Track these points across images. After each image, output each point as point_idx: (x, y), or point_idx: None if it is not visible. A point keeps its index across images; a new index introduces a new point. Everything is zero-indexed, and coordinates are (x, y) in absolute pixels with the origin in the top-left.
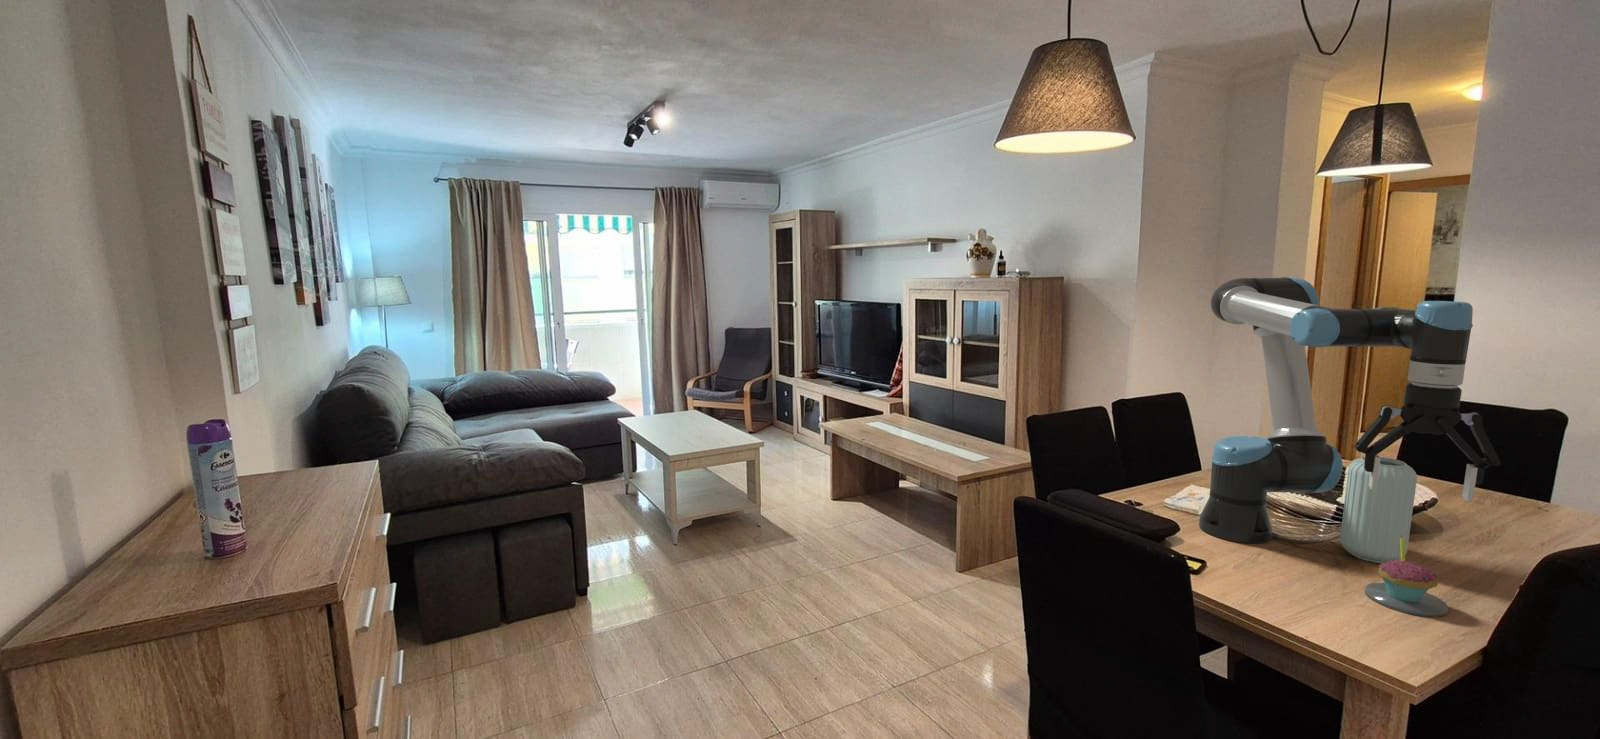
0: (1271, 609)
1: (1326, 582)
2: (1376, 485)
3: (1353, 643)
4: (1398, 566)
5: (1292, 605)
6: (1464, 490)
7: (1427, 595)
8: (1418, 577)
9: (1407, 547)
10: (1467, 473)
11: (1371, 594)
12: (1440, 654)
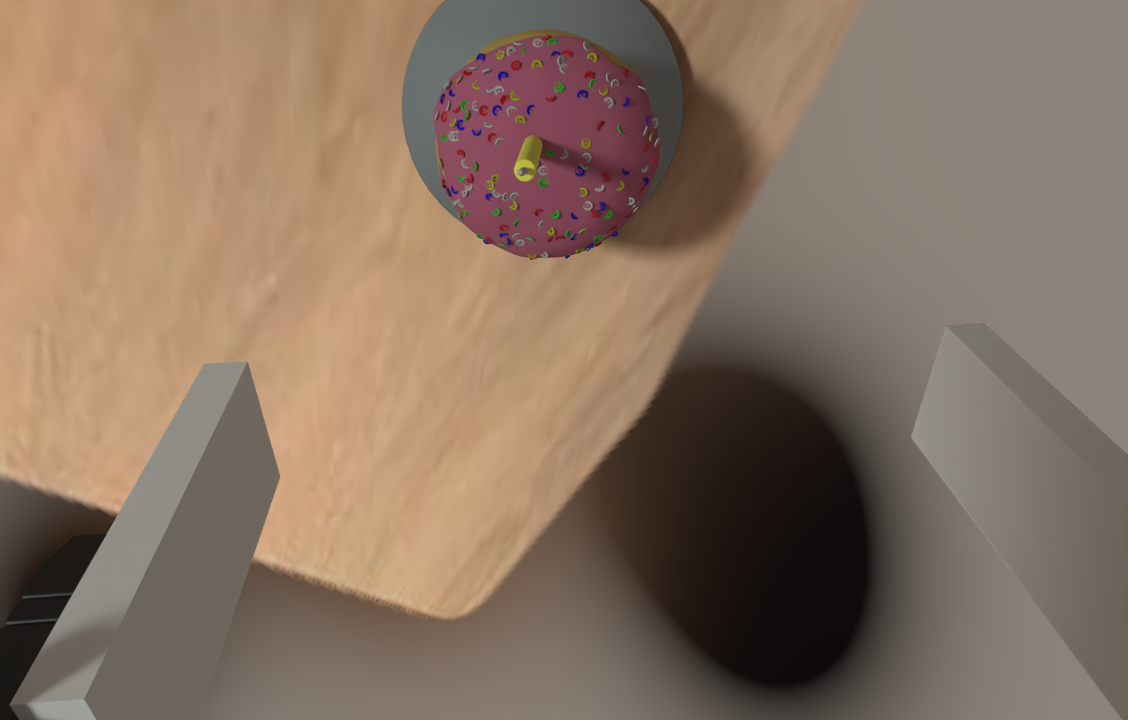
0: (126, 440)
1: (253, 62)
2: (262, 513)
3: (357, 523)
4: (502, 210)
5: (176, 377)
6: (979, 405)
7: (638, 40)
8: (570, 250)
9: None
10: (1105, 558)
11: (420, 163)
12: (556, 473)
